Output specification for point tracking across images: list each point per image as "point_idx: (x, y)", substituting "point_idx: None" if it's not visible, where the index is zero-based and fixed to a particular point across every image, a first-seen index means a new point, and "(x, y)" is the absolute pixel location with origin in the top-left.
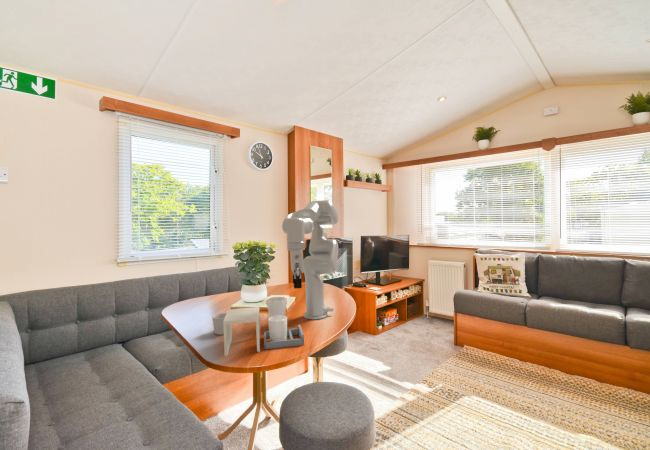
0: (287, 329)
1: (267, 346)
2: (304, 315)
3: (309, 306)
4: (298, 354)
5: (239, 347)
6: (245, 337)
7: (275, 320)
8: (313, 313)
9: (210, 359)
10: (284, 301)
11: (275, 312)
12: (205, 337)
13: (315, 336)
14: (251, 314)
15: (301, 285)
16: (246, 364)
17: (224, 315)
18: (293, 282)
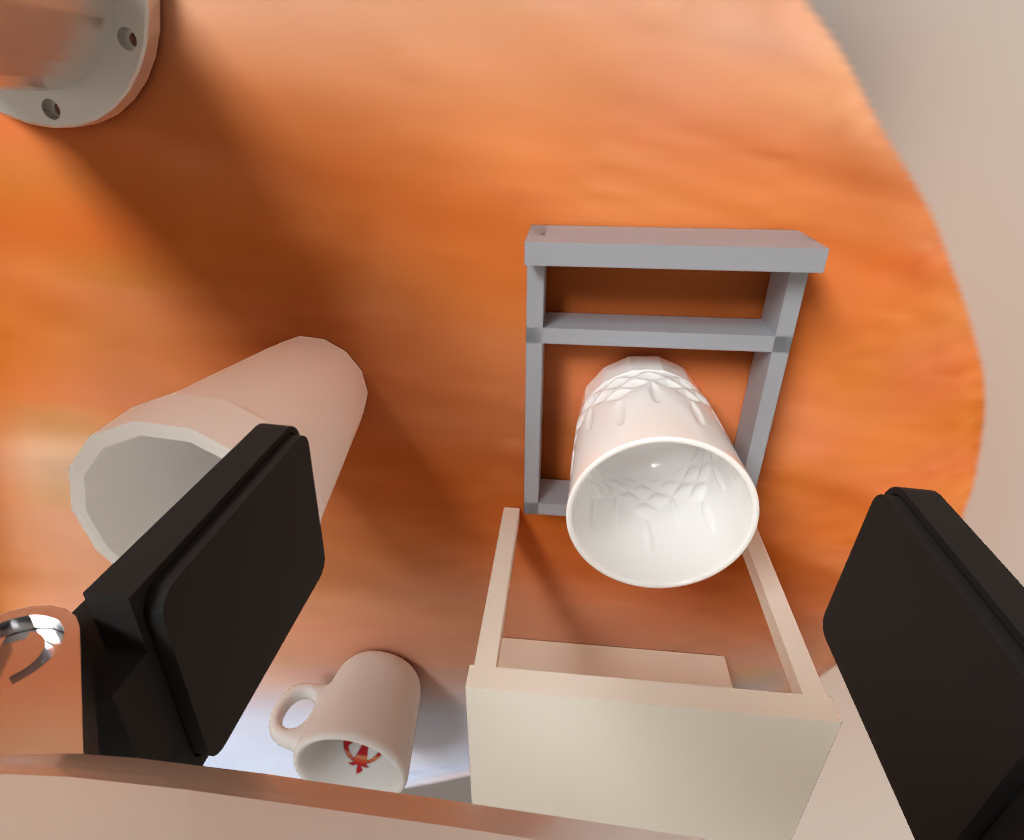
0: (533, 352)
1: None
2: (80, 119)
3: (3, 48)
4: (940, 298)
5: (632, 608)
6: (486, 579)
7: (576, 501)
8: (83, 3)
9: None
10: None
11: (333, 478)
12: (432, 728)
13: (638, 85)
14: (692, 750)
15: (969, 532)
16: None
17: (308, 747)
18: (313, 584)
